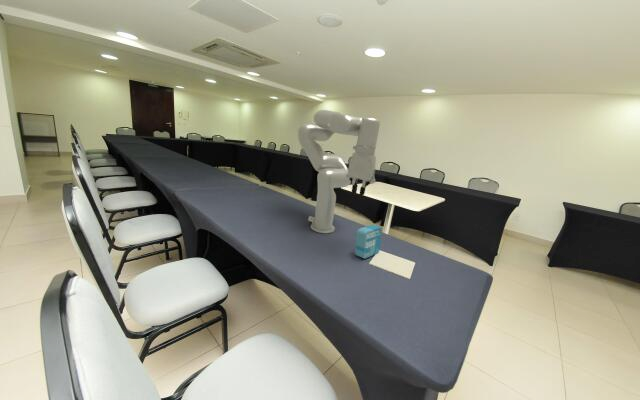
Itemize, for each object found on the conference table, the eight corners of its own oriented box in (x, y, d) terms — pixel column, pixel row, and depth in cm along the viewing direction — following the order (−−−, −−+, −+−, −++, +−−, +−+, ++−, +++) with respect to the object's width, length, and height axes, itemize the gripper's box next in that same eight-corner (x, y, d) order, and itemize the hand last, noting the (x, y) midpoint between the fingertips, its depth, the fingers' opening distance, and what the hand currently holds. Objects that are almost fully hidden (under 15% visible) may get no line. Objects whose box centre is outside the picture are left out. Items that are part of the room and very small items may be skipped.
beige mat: (368, 264, 96) (369, 263, 96) (378, 250, 108) (378, 249, 108) (409, 279, 89) (409, 278, 89) (415, 263, 101) (415, 262, 101)
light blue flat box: (363, 259, 97) (365, 232, 95) (354, 256, 101) (356, 229, 98) (379, 252, 105) (382, 226, 103) (371, 248, 109) (373, 223, 106)
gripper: (343, 147, 95) (336, 192, 100) (382, 154, 88) (373, 201, 93) (350, 147, 101) (343, 189, 106) (387, 153, 94) (378, 197, 99)
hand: (357, 194), depth 100 cm, fingers open, 2 cm apart
